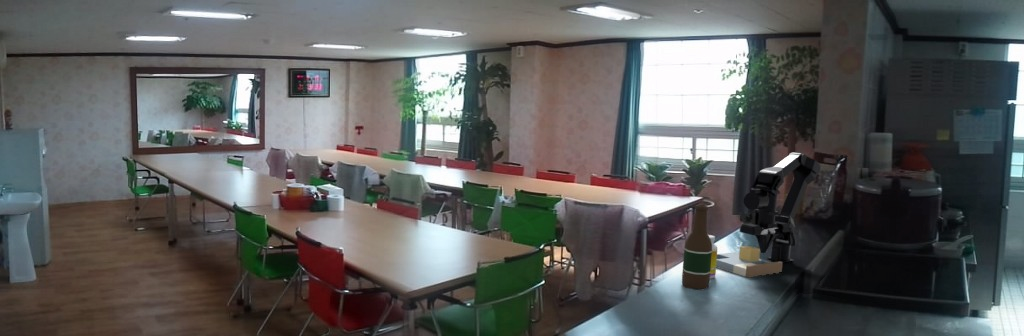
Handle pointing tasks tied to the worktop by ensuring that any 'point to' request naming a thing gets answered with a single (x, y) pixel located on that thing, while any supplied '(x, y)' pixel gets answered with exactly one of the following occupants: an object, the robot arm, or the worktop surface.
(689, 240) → the beer bottle
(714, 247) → the supplement bottle
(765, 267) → the board
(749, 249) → the block
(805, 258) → the worktop surface
